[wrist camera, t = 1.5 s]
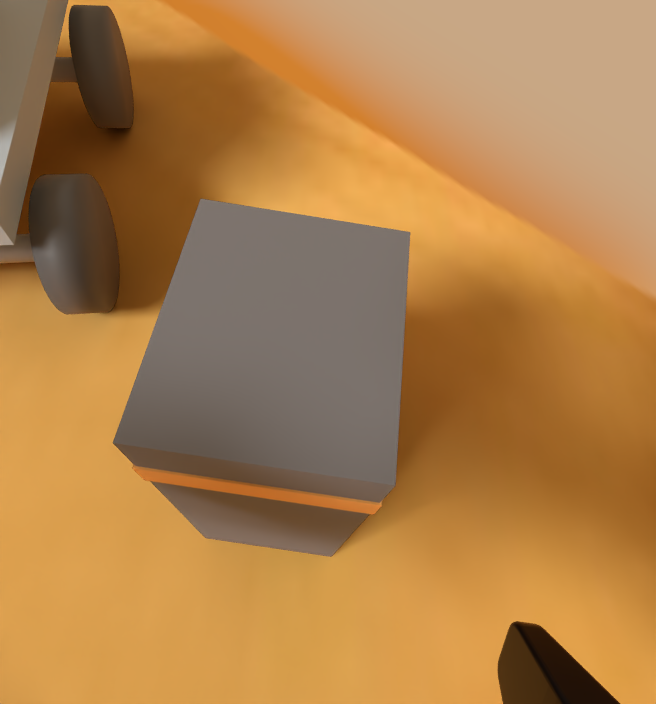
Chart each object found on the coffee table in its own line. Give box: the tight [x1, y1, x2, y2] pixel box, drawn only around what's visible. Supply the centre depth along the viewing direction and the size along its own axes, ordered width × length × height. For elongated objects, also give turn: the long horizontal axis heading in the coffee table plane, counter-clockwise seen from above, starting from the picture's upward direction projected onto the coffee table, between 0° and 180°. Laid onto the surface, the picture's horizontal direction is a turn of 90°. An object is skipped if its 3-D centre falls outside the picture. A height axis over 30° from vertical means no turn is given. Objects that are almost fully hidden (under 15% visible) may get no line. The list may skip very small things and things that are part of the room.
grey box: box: [113, 199, 410, 557], centre depth 16 cm, size 9×5×12 cm, turn 172°
